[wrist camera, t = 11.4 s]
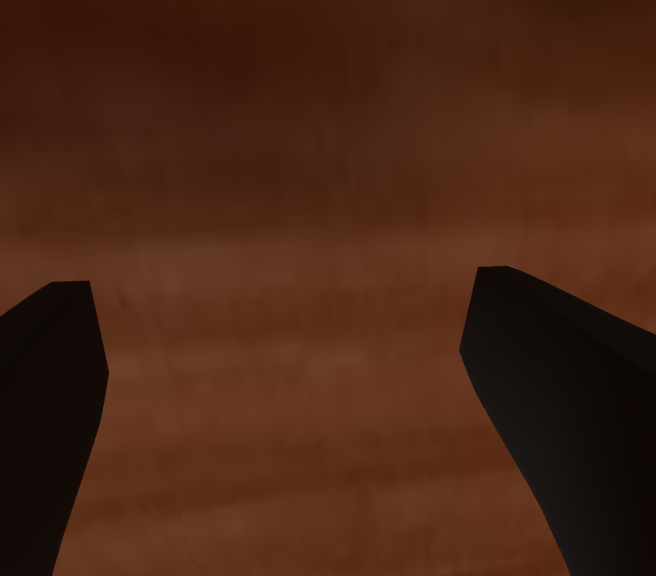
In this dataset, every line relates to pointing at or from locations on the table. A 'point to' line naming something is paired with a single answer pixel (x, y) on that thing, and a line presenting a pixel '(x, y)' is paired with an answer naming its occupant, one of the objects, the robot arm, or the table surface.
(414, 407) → the table surface
